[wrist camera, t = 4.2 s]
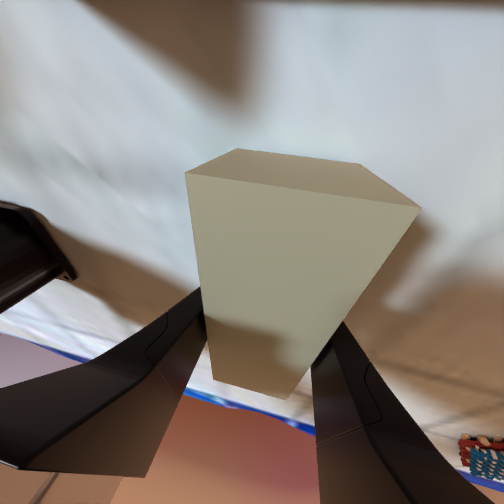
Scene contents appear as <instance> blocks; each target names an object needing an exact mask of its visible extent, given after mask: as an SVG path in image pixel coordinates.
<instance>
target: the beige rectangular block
mask: <svg viewBox="0 0 504 504" xmlns="http://www.w3.org/2000/svg"><path fill="white" fill-rule="evenodd" d="M185 178H186V185H187V193H188V200H189V207H190V214H191V222H192V229H193V236H194V243H195V251H196V258H197V265H198V272H199V280H200V287H201V294H202V301H203V309H204V316H205V323H206V331H207V338H208V345H209V352H210V360H211V367H212V374H213V380H216V381H220V382H223V383H227V384H230V385H234V386H238V387H241V388H245V389H248V390H252V391H255V392H259V393H262V394H266V395H270V396H273V397H277V398H280V399H284V400H287V398H288V397H289V396H290V394H291V393H292V391H293V390H294V388H295V387H296V386H297V384H298V383H299V381H300V380H301V379H302V377H303V376H304V374H305V373H306V372H307V370H308V369H309V367H310V366H311V364H312V363H313V362H314V360H315V359H316V357H317V356H318V355H319V353H320V352H321V350H322V349H323V348H324V346H325V345H326V343H327V342H328V340H329V339H330V338H331V336H332V335H333V333H334V332H335V331H336V329H337V328H338V326H339V325H340V324H341V322H342V321H343V319H344V318H345V316H346V315H347V314H348V312H349V311H350V309H351V308H352V307H353V305H354V304H355V302H356V301H357V300H358V298H359V297H360V295H361V294H362V293H363V291H364V290H365V288H366V287H367V285H368V284H369V283H370V281H371V280H372V278H373V277H374V276H375V274H376V273H377V271H378V270H379V269H380V267H381V266H382V264H383V263H384V261H385V260H386V259H387V257H388V256H389V254H390V253H391V252H392V250H393V249H394V247H395V246H396V245H397V243H398V242H399V240H400V239H401V237H402V236H403V235H404V233H405V232H406V230H407V229H408V228H409V226H410V225H411V223H412V222H413V221H414V219H415V218H416V216H417V215H418V213H419V212H420V211H421V209H422V207H420V206H419V205H417V204H416V203H414V202H413V201H412V200H410V199H409V198H407V197H406V196H405V195H403V194H402V193H400V192H399V191H397V190H396V189H395V188H393V187H392V186H390V185H389V184H388V183H386V182H385V181H383V180H382V179H380V178H379V177H378V176H376V175H375V174H373V173H372V172H370V171H369V170H368V169H366V168H365V167H363V166H362V165H361V164H356V163H348V162H340V161H332V160H324V159H317V158H309V157H301V156H293V155H285V154H278V153H270V152H262V151H254V150H246V149H239V148H237V149H234V150H232V151H230V152H228V153H226V154H224V155H222V156H219V157H217V158H215V159H213V160H211V161H209V162H207V163H204V164H202V165H200V166H198V167H196V168H194V169H192V170H189V171H187V172H185Z"/></svg>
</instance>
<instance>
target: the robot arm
mask: <svg viewBox="0 0 504 504" xmlns="http://www.w3.org/2000/svg"><path fill="white" fill-rule="evenodd" d="M54 279H59V280H64V281H68V282H73V281H74V280H76V279H77V276H76V274H75V273H74V271H73V270H72V269H71V267H70V266H69V265H68V263H67V262H66V261H65V259H64V258H63V256H62V255H61V254H60V252H59V251H58V250H57V248H56V247H55V245H54V244H53V243H52V241H51V240H50V239H49V237H48V236H47V234H46V233H45V232H44V230H43V229H42V228H41V226H40V225H39V223H38V222H37V221H36V219H35V218H34V217H33V215H32V214H31V213H30V212H29V211H28V210H26V209H25V208H23V207H19V206H14V205H8V204H3V203H0V314H1V313H3V312H5V311H6V310H8V309H9V308H11V307H12V306H14V305H15V304H17V303H18V302H20V301H21V300H23V299H24V298H26V297H28V296H29V295H31V294H32V293H34V292H35V291H37V290H38V289H40V288H41V287H43V286H44V285H46V284H47V283H49V282H50V281H52V280H54ZM207 339H208V338H207V331H206V323H205V316H204V309H203V301H202V294H201V287H199V288H197V289H196V290H195V291H193V292H192V293H191V294H189V295H188V296H187V297H185V298H184V299H183V300H181V301H180V302H179V303H177V304H176V305H175V306H173V307H172V308H171V309H169V310H168V311H167V312H165V313H164V314H163V315H161V316H160V317H159V318H157V319H156V320H154V321H153V322H152V323H150V324H149V325H147V326H146V327H144V328H143V329H141V330H140V331H138V332H137V333H135V334H134V335H132V336H130V337H129V338H127V339H126V340H124V341H123V342H121V343H119V344H118V345H116V346H115V347H113V348H111V349H110V350H108V351H107V352H105V353H103V354H102V355H100V356H98V357H96V358H94V359H92V360H90V361H88V362H85V363H83V364H80V365H77V366H74V367H70V368H67V369H63V370H60V371H57V372H53V373H50V374H47V375H44V376H41V377H37V378H34V379H31V380H27V381H24V382H20V383H17V384H14V385H11V386H7V387H4V388H0V504H110V502H111V500H112V498H113V496H114V494H115V492H116V490H117V488H118V486H119V484H120V482H121V480H122V478H123V477H138V478H145V476H146V474H147V472H148V470H149V467H150V465H151V463H152V461H153V459H154V456H155V454H156V452H157V449H158V447H159V445H160V443H161V441H162V439H163V436H164V434H165V432H166V430H167V428H168V425H169V423H170V420H171V419H172V416H173V414H174V412H175V409H176V408H177V405H178V403H179V401H180V399H181V396H182V394H183V392H184V390H185V388H186V385H187V383H188V381H189V379H190V377H191V374H192V372H193V370H194V368H195V366H196V363H197V361H198V359H199V357H200V354H201V352H202V350H203V348H204V346H205V343H206V341H207ZM311 380H312V394H313V407H314V421H315V435H316V445H317V447H316V449H317V463H318V476H319V490H320V503H321V504H495V503H494V502H492V501H491V500H490V499H489V498H488V497H486V496H485V495H484V494H483V493H482V492H481V491H479V490H478V489H477V488H476V487H475V486H473V485H472V484H471V483H470V482H469V481H467V480H466V479H465V478H464V477H463V476H462V475H461V474H460V473H459V472H458V471H457V470H455V469H454V467H453V466H452V465H451V464H450V463H449V462H448V461H447V460H446V459H445V458H444V457H443V456H442V455H441V453H440V452H439V451H438V450H437V449H436V447H435V446H434V445H433V444H432V442H431V441H430V440H429V439H428V437H427V436H426V435H425V434H424V432H423V431H422V430H421V428H420V427H419V426H418V425H417V423H416V422H415V421H414V420H413V418H412V417H411V416H410V414H409V413H408V412H407V411H406V409H405V408H404V407H403V405H402V404H401V403H400V402H399V400H398V399H397V398H396V396H395V395H394V394H393V392H392V391H391V390H390V388H389V387H388V386H387V384H386V383H385V382H384V380H383V379H382V377H381V376H380V374H379V373H378V372H377V370H376V369H375V367H374V366H373V364H372V363H371V362H369V359H368V357H367V356H366V354H365V353H364V351H363V350H362V348H361V347H360V345H359V344H358V342H357V341H356V339H355V338H354V336H353V335H352V333H351V332H350V331H349V329H348V328H347V326H346V325H345V323H344V322H343V321H342V322H341V324H340V325H339V326H338V328H337V329H336V331H335V332H334V333H333V335H332V336H331V338H330V339H329V340H328V342H327V343H326V345H325V346H324V348H323V349H322V350H321V352H320V353H319V355H318V356H317V357H316V359H315V360H314V362H313V363H312V364H311Z"/></svg>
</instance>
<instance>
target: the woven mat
mask: <svg viewBox="0 0 504 504" xmlns="http://www.w3.org/2000/svg"><path fill="white" fill-rule="evenodd" d="M461 437H462V439H461V440H460V441H459V442H458V444H459V445H460V450H462V451H461V452H460V453H459V455H460V456H461V457H462V458H461V461H462V464H463V466H468V467H470V471H472V472H470V473H471V474H472V475H473V477H474V476H477V475H479V476H481V477H483V478H484V476H485V477H486V478H487V479H491V480H493V478H494V477H495V478H496V479H497V480H500V481H501V480H502V479H503V480H504V442H503V443H502V438H498V437H494V438H493V441H492V443H491V442H489V441H488V440H487V438H486V437H485V436H483V435H477V439H476V441H473V440H470V435H469V434H462V436H461Z"/></svg>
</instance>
